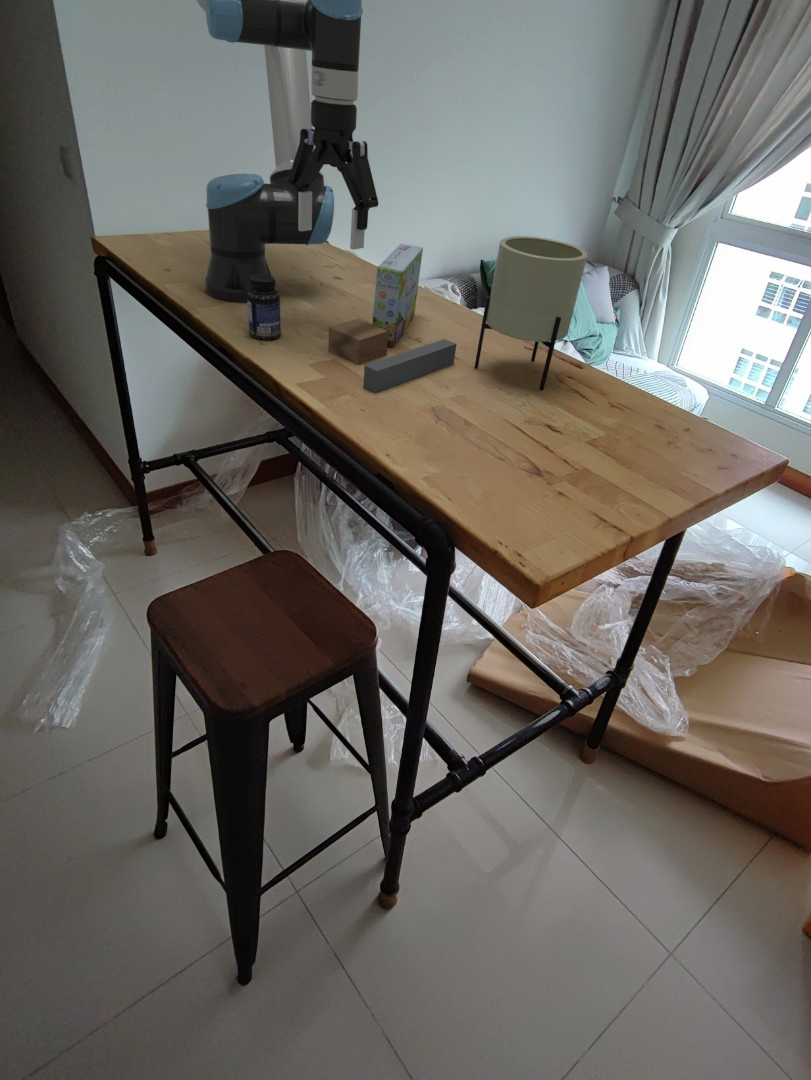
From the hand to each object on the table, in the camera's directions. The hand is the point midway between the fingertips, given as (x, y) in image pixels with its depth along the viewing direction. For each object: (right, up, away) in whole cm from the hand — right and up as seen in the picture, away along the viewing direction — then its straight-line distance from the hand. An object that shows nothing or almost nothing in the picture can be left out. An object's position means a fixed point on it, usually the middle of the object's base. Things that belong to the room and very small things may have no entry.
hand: (330, 239), depth 119 cm
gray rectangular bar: (+15, -25, +1) cm, 29 cm away
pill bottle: (-14, -15, +9) cm, 23 cm away
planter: (+36, -23, +6) cm, 43 cm away
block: (+5, -19, +7) cm, 21 cm away
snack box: (+11, -11, +19) cm, 25 cm away
